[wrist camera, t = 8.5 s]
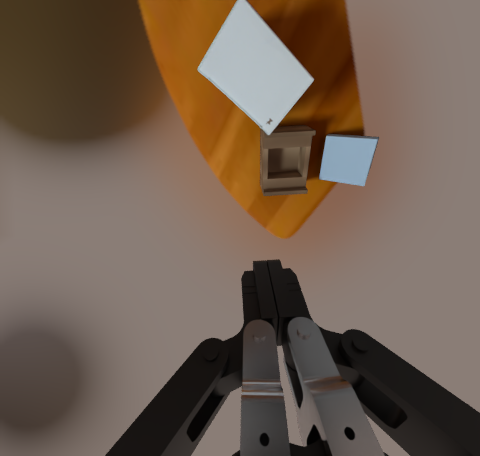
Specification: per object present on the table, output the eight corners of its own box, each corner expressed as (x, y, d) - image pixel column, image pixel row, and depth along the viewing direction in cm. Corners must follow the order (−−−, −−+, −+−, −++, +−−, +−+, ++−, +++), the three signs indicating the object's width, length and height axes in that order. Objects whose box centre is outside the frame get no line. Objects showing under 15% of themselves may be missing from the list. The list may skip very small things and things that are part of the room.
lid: (377, 139, 26) (380, 132, 29) (326, 135, 29) (334, 129, 32) (364, 186, 29) (367, 175, 33) (319, 179, 32) (326, 169, 35)
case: (260, 127, 29) (265, 133, 25) (305, 125, 29) (315, 130, 26) (260, 184, 33) (263, 195, 30) (298, 181, 33) (307, 193, 30)
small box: (288, 81, 26) (318, 80, 18) (257, 121, 29) (270, 138, 20) (236, 24, 23) (241, -11, 15) (207, 74, 26) (195, 69, 17)
